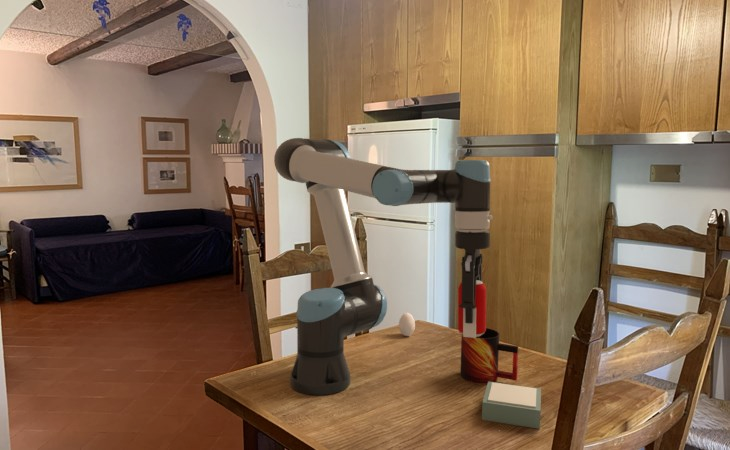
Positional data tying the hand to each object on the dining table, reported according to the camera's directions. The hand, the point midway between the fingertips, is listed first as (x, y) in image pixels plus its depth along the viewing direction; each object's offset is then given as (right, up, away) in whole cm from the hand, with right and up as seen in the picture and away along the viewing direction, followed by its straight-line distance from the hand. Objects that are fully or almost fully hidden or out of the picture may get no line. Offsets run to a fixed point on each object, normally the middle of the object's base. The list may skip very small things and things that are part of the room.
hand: (472, 332), depth 119 cm
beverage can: (0, -1, 0) cm, 1 cm away
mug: (+8, -16, +21) cm, 28 cm away
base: (+9, -18, 0) cm, 20 cm away
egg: (-10, -12, +54) cm, 57 cm away
